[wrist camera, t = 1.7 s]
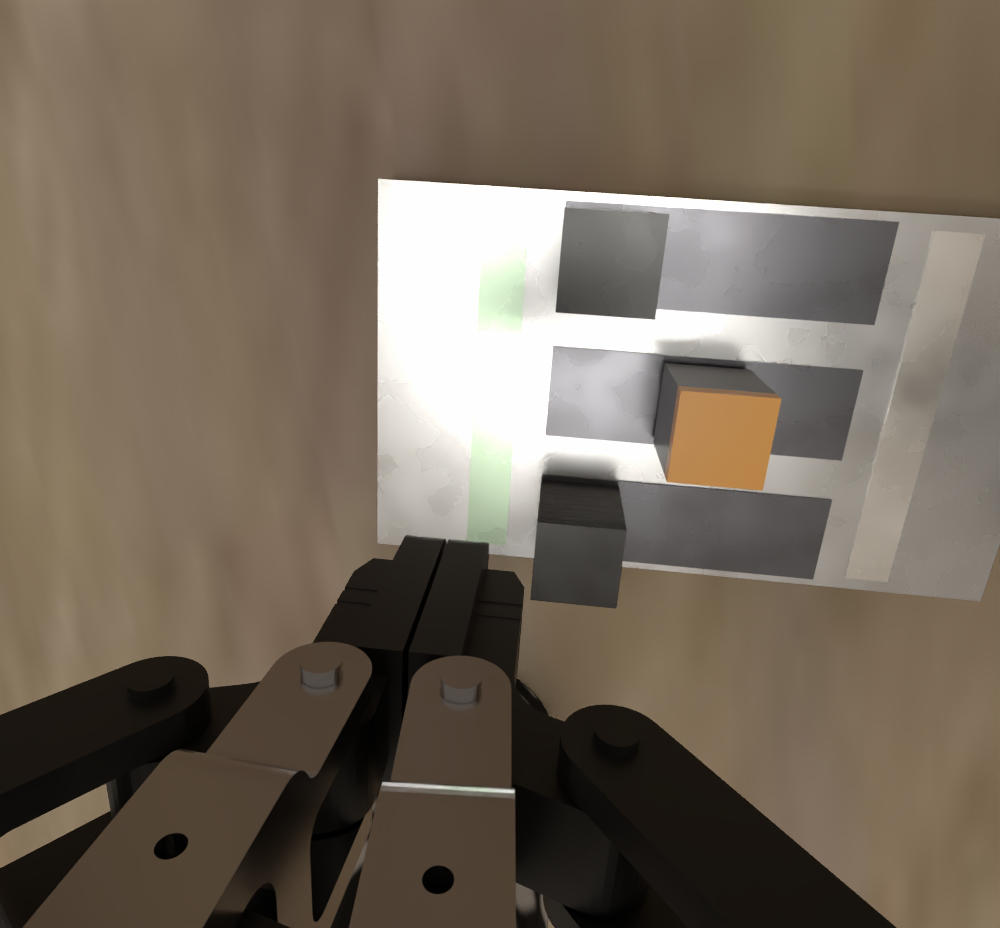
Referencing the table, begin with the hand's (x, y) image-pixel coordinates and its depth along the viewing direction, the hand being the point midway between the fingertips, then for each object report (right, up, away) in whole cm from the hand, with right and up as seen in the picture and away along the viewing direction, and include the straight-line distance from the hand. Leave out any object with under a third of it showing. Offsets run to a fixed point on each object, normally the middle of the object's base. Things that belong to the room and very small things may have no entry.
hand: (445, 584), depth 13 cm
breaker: (+8, +4, +13) cm, 16 cm away
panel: (+8, +5, +15) cm, 18 cm away
